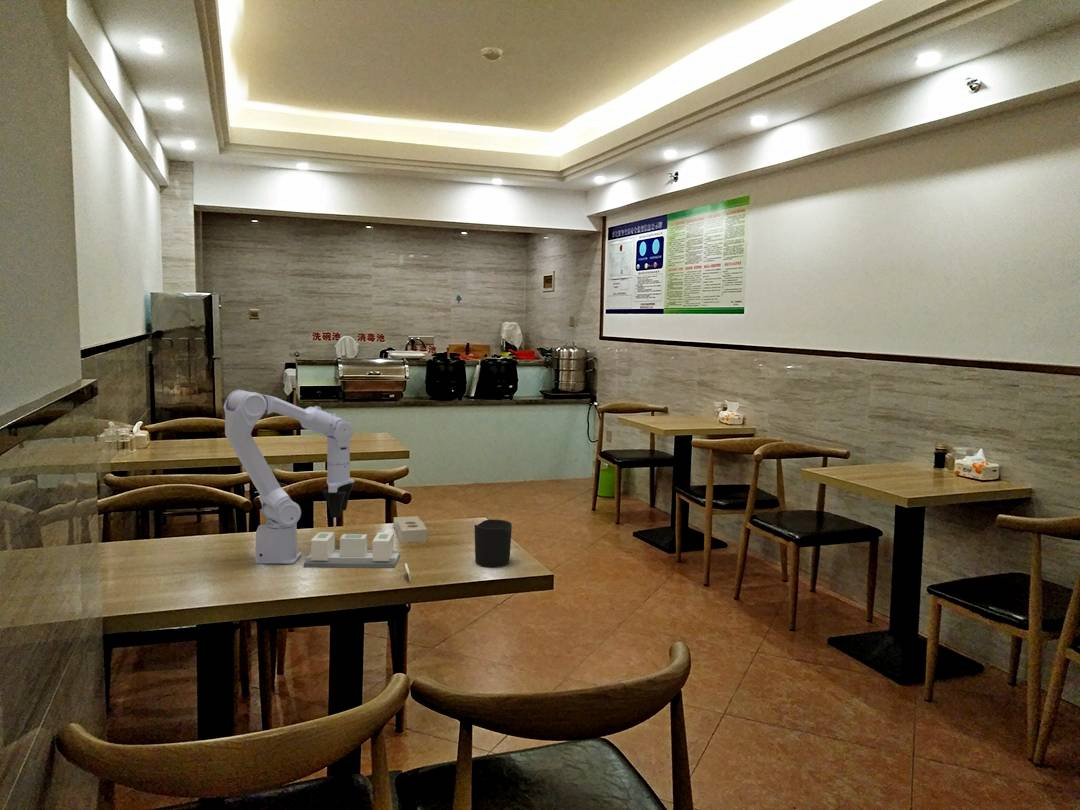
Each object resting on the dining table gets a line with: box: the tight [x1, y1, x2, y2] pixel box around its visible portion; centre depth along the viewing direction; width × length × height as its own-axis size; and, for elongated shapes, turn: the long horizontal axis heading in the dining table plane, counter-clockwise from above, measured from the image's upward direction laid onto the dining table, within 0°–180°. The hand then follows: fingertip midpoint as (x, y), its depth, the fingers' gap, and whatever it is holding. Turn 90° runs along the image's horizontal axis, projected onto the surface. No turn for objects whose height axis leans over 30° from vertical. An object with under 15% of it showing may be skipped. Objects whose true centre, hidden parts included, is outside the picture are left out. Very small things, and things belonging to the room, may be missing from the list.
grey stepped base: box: [303, 531, 401, 569], centre depth 188 cm, size 22×10×7 cm, turn 93°
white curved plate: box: [400, 562, 412, 583], centre depth 176 cm, size 4×8×3 cm, turn 15°
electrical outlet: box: [393, 515, 428, 544], centre depth 214 cm, size 7×4×18 cm
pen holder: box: [474, 519, 513, 568], centre depth 189 cm, size 9×9×10 cm
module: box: [339, 533, 368, 557], centre depth 188 cm, size 6×4×5 cm, turn 93°
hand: (338, 513), depth 198 cm, fingers open, 7 cm apart
